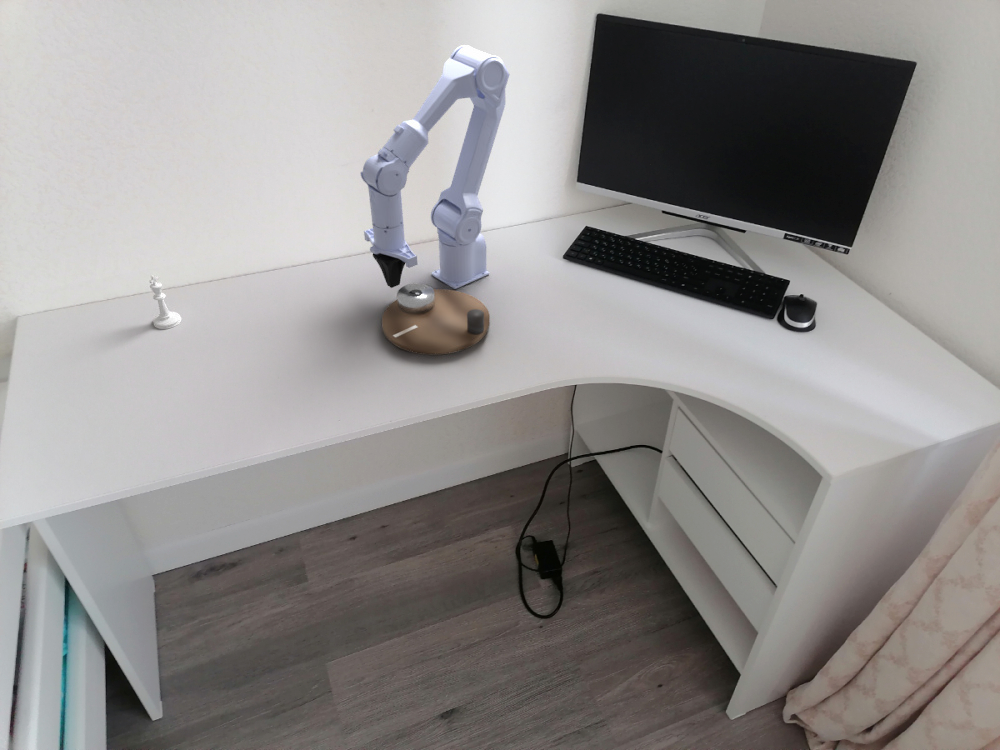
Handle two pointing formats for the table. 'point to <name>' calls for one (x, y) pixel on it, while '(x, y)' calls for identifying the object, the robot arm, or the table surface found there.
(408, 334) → the turntable
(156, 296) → the chess piece
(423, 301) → the cover
